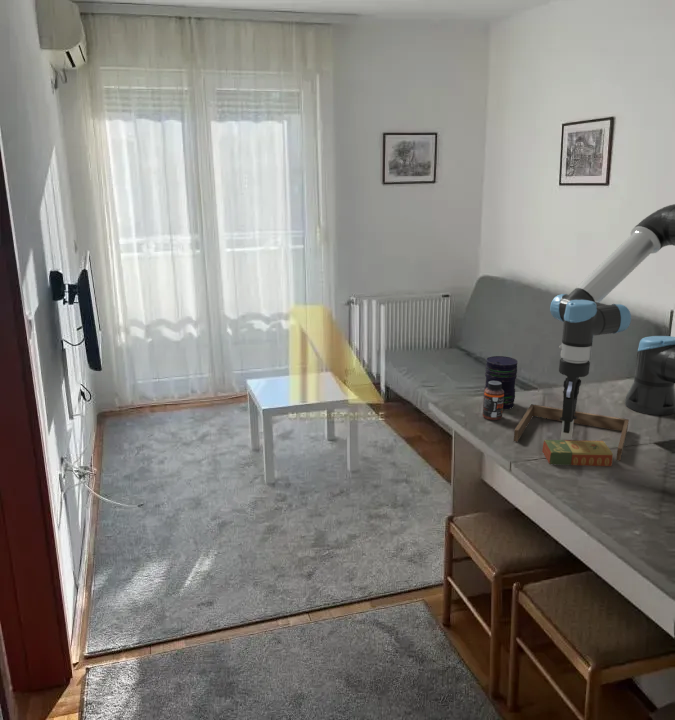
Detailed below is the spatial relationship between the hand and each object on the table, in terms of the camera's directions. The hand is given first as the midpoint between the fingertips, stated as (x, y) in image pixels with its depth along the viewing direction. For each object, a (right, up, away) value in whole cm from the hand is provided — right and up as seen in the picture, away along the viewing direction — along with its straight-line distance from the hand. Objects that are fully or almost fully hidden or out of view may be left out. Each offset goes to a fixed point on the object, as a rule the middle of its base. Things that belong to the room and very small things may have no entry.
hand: (565, 442), depth 184 cm
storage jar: (-10, +8, +34) cm, 37 cm away
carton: (+1, -5, -4) cm, 6 cm away
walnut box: (+5, +1, +10) cm, 11 cm away
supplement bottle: (-15, +5, +24) cm, 28 cm away
